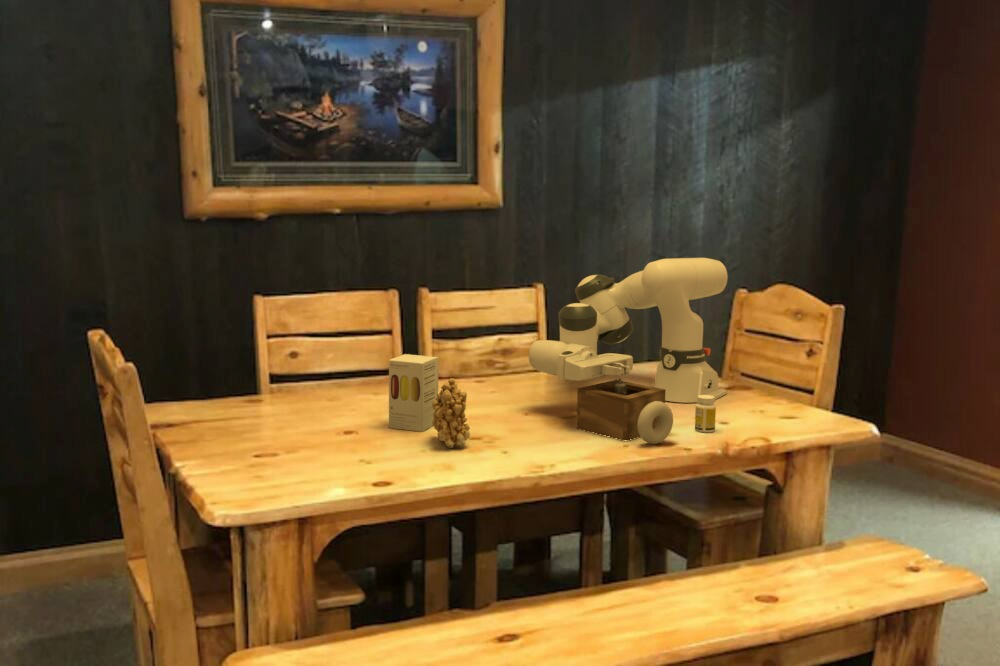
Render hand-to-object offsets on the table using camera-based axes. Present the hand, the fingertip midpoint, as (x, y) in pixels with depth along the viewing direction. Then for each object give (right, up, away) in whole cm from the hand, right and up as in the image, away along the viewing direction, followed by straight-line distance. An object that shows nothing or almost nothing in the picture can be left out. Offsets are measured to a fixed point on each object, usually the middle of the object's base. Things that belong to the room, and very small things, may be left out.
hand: (625, 371), depth 220 cm
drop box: (-1, -14, +3) cm, 15 cm away
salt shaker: (0, -14, +2) cm, 14 cm away
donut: (+6, -16, -9) cm, 20 cm away
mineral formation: (-42, -16, -10) cm, 46 cm away
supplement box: (-51, -14, +4) cm, 53 cm away
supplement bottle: (+20, -15, +3) cm, 25 cm away
